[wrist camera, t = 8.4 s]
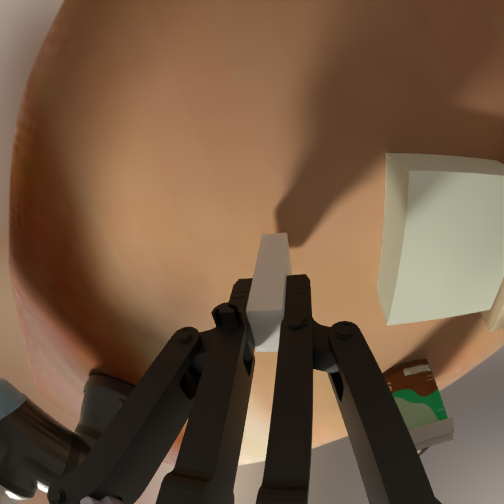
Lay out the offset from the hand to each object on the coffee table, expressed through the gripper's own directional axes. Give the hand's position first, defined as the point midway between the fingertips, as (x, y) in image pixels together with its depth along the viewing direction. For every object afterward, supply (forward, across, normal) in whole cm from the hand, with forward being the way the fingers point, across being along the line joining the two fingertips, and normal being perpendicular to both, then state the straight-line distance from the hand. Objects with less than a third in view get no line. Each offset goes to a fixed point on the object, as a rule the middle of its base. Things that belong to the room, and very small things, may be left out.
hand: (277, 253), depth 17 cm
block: (+2, +12, 0) cm, 12 cm away
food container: (+1, +10, -19) cm, 21 cm away
